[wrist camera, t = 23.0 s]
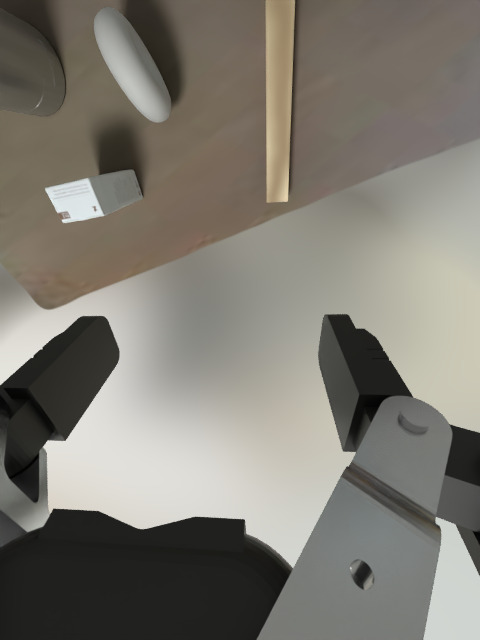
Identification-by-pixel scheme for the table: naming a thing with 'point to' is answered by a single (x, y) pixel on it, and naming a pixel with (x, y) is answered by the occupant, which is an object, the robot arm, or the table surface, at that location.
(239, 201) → the table surface
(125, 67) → the donut
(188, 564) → the robot arm
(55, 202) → the skincare box
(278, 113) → the beige block
